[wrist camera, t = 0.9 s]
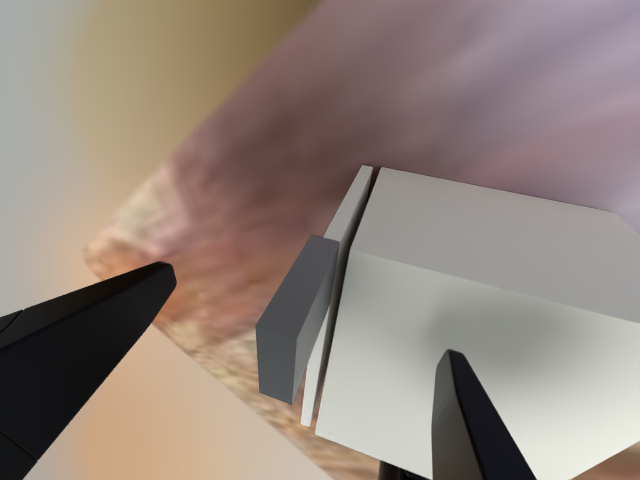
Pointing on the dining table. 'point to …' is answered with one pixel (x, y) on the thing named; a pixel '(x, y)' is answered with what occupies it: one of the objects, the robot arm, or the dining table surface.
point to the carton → (487, 323)
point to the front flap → (309, 308)
